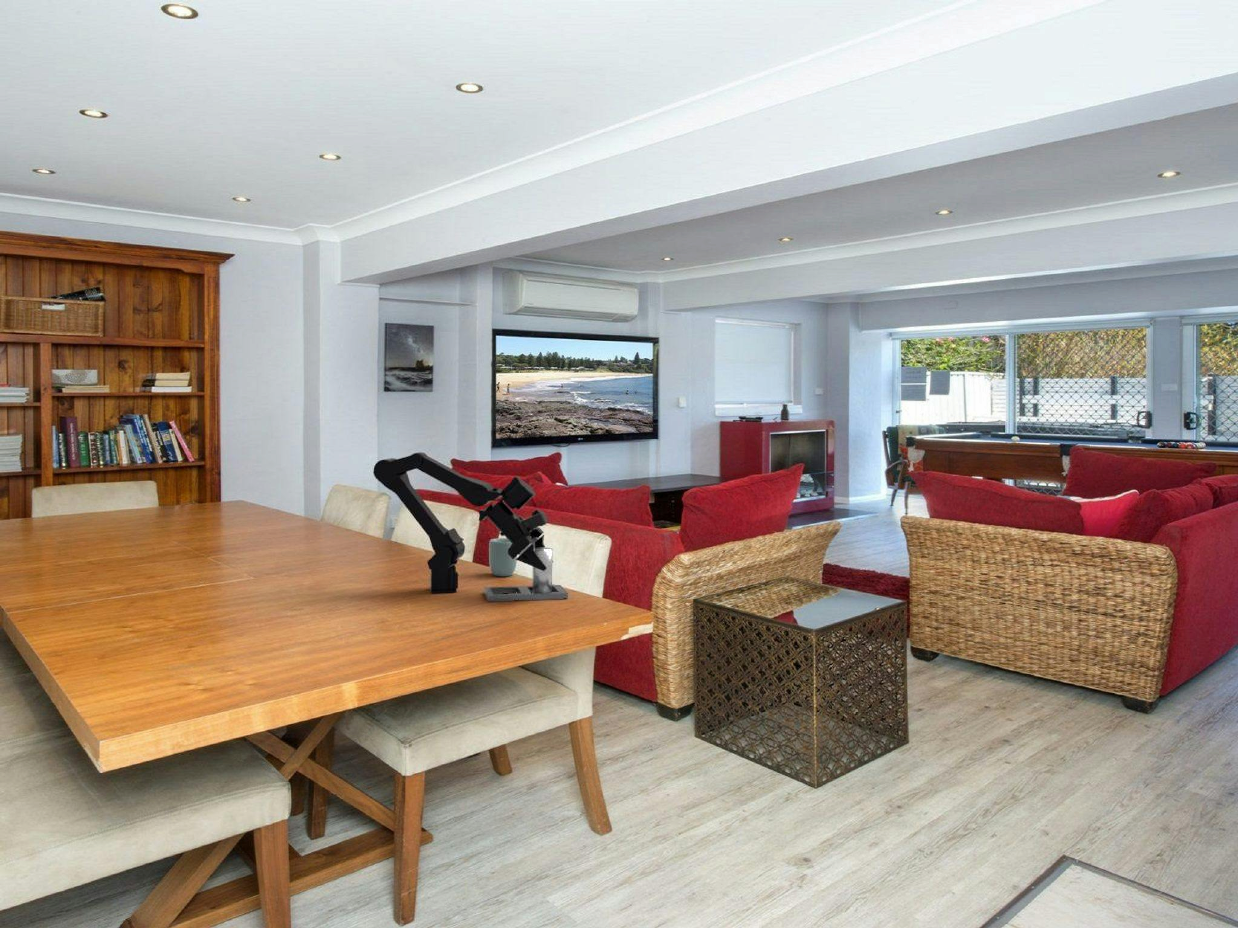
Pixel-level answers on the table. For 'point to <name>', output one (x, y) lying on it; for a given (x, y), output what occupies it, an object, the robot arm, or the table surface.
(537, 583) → the peg
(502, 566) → the cup
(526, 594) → the grey divided tray
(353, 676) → the table surface
